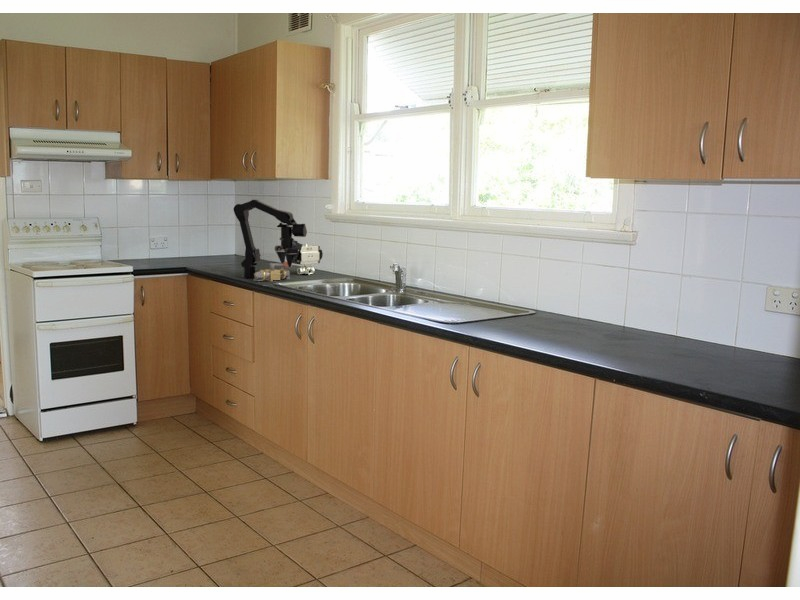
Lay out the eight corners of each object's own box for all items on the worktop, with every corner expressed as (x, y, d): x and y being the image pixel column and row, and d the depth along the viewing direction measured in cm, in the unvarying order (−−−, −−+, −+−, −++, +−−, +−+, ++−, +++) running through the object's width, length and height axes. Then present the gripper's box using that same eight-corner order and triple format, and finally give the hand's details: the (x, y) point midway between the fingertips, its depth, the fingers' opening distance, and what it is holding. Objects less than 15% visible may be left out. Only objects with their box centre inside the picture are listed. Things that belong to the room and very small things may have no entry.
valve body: (259, 282, 368) (259, 270, 368) (252, 281, 373) (252, 269, 372) (291, 279, 383) (291, 268, 382) (284, 278, 387) (284, 267, 386)
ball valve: (297, 276, 395) (297, 244, 392) (288, 275, 401) (288, 243, 398) (324, 274, 406) (324, 243, 404) (315, 273, 413) (315, 242, 410)
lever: (269, 269, 374) (269, 262, 374) (269, 268, 379) (269, 261, 378) (292, 269, 377) (292, 262, 377) (291, 268, 381) (291, 261, 381)
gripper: (307, 237, 374) (307, 267, 377) (293, 234, 390) (293, 263, 392) (287, 237, 369) (287, 267, 371) (274, 235, 384) (274, 264, 387)
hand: (286, 265), depth 380 cm, fingers open, 9 cm apart
